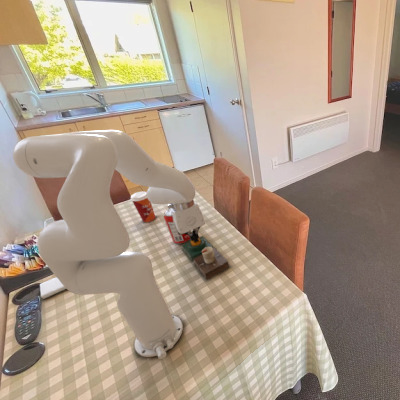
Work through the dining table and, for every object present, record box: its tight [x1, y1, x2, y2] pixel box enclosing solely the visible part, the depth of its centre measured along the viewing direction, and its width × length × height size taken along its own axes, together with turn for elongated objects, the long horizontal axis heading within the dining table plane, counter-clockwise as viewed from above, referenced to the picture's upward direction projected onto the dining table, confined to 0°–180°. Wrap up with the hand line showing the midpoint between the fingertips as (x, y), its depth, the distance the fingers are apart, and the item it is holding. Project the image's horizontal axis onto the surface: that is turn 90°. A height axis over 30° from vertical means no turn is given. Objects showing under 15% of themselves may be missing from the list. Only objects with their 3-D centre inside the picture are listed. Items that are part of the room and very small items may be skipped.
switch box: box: [181, 235, 214, 262], centre depth 111 cm, size 10×9×4 cm
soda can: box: [163, 208, 191, 245], centre depth 115 cm, size 8×8×15 cm
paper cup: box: [130, 190, 156, 223], centre depth 129 cm, size 8×8×14 cm
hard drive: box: [39, 276, 67, 300], centre depth 97 cm, size 2×8×12 cm
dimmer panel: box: [193, 247, 230, 280], centre depth 103 cm, size 11×9×3 cm
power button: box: [190, 237, 201, 246], centre depth 110 cm, size 4×4×2 cm
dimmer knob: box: [202, 247, 216, 264], centre depth 101 cm, size 4×4×5 cm
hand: (195, 240), depth 110 cm, fingers closed
